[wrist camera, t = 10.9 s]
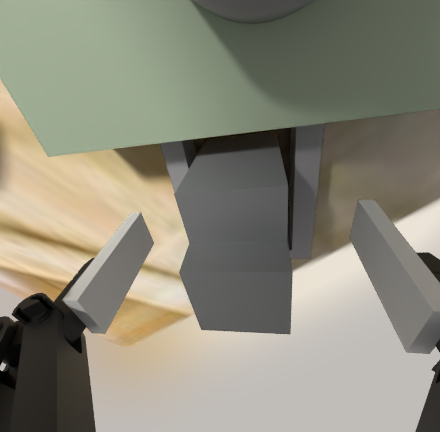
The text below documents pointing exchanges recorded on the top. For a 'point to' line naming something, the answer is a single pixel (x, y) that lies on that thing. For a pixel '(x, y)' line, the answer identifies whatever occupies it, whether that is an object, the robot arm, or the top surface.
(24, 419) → the robot arm
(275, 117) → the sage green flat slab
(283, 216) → the grey notched block
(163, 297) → the top surface
